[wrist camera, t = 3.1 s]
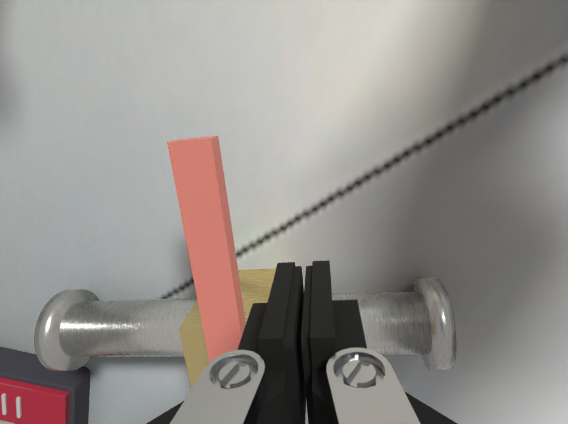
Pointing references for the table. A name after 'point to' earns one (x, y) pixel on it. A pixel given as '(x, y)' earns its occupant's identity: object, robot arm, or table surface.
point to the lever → (209, 240)
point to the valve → (255, 289)
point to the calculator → (41, 391)
